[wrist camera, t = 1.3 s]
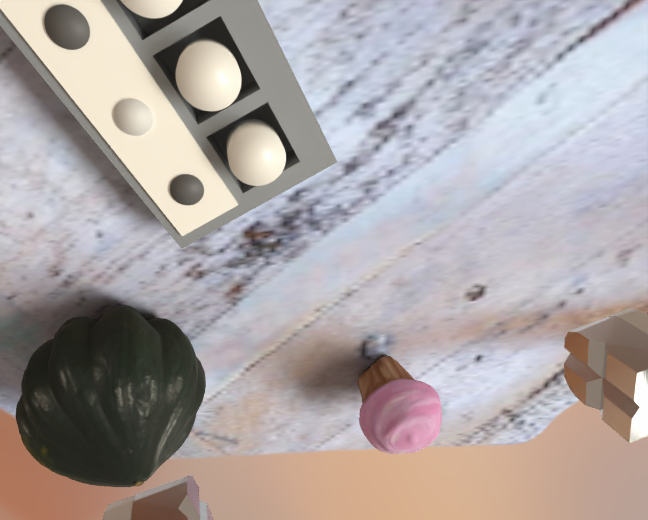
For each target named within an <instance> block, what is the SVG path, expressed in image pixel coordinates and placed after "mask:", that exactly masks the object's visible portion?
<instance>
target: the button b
mask: <svg viewBox="0 0 648 520" xmlns="http://www.w3.org/2000/svg"><path fill="white" fill-rule="evenodd" d="M176 83H177V86H178V89H179V91H180V93H181V94H182V96H183V97H184V98H185V100H186V101H187V102H189V103H190V104H191V105H193V106H194V107H196V108H198V109H201V110H204V111H218V110H222V109H224V108H226V107H228V106H229V105H230V104H232V103H233V102H234V100H235V99H236V98H237V96H238V94H239V92H240V88H241V72H240V69H239V66H238V64H237V61H236V59H235V57H234V55H233V54H232V52H231V51H230V50H229V48H228V47H226V46H225V45H224V44H223V43H221V42H219V41H217V40H214V39H210V38H201V39H197V40H194V41H192V42H190V43H189V44H187V45H186V46H185V47H184V49H183V50H182V52H181V54H180V56H179V59H178V63H177V67H176Z"/></svg>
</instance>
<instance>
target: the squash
mask: <svg viewBox="0 0 648 520" xmlns="http://www.w3.org/2000/svg"><path fill="white" fill-rule="evenodd" d="M205 387H206V381H205V372H204V369H203V367H202V365H201V363H200V361H199V360H198V358H197V357H196V355H195V352H194V349H193V347H192V344H191V342H190V341H189V339H188V337H187V336H186V335H185V334H184V333H183V332H182V330H181V329H180V328H179V327H178V326H177V325H175V324H174V323H173V322H171V321H169V320H167V319H162V318H156V319H150V320H147V321H146V320H145V318H144V317H143V316H142V315H141V314H140V313H139V312H138V311H137V310H136V309H135V308H133V307H131V306H126V305H121V306H117V307H115V308H113V309H111V310H109V311H108V312H106V313H105V314H103V315H102V316H101V317H100V318H99V320H98V321H96V320H94V319H91V318H88V317H76V318H73V319H70V320H68V321H67V322H66V323H65V324H63V325H62V326H61V327H60V329H59V330H58V331H57V333H56V334H55V337H54V339H52V340H49V341H47V342H46V343H44V344H43V345H42V346H40V347H39V348H38V349H37V350H36V351H35V352H34V354H33V355H32V357H31V359H30V361H29V363H28V366H27V368H26V370H25V372H24V376H23V380H22V395H21V398H20V400H19V402H18V404H17V408H16V421H17V424H18V428H19V433H20V435H21V437H22V441H23V443H24V445H25V447H26V449H27V450H28V451H29V452H30V454H31V455H32V456H33V457H34V458H35V459H36V460H37V461H38V462H39V463H40V464H41V465H43V466H45V467H47V468H48V469H50V470H51V471H53V472H55V473H57V474H59V475H62V476H66V477H68V478H70V479H72V480H76V481H78V482H82V483H86V484H90V485H98V486H112V487H131V486H140V485H142V484H143V483H144V481H146V480H147V479H148V478H149V477H151V476H152V475H153V473H154V472H155V471H156V470H157V469H158V467H159V466H160V465H162V464H163V463H164V462H165V461H166V460H167V459H169V458H170V457H171V456H172V455H173V454H174V453H175V452H176V451H177V450H178V449H179V448H180V447H181V446H182V444H183V443H184V441H185V440H186V438H187V437H188V435H189V433H190V431H191V429H192V427H193V424H194V421H195V418H196V413H197V411H198V409H199V407H200V405H201V403H202V400H203V397H204V393H205Z"/></svg>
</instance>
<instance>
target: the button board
mask: <svg viewBox="0 0 648 520" xmlns="http://www.w3.org/2000/svg"><path fill="white" fill-rule="evenodd" d="M0 26H1V27H2V29H3V30H4V31H5V32H6V34H7V35H8V36H9V37H10V39H11V40H12V41H13V42H14V43H15V45H16V46H17V47H18V48H19V50H20V51H21V52H22V53H23V54H24V56H25V57H26V58H27V59H28V61H29V62H30V63H31V64H32V66H33V67H34V68H35V69H36V70H37V72H38V73H39V74H40V75H41V77H42V78H43V79H44V80H45V81H46V83H47V84H48V85H49V86H50V88H51V89H52V90H53V91H54V93H55V94H56V95H57V96H58V97H59V99H60V100H61V101H62V102H63V104H64V105H65V106H66V107H67V108H68V110H69V111H70V112H71V113H72V115H73V116H74V117H75V118H76V120H77V121H78V122H79V123H80V124H81V126H82V127H83V128H84V129H85V131H86V132H87V133H88V134H89V135H90V137H91V138H92V139H93V140H94V142H95V143H96V144H97V145H98V147H99V148H100V149H101V150H102V151H103V153H104V154H105V155H106V156H107V158H108V159H109V160H110V161H111V162H112V164H113V165H114V166H115V167H116V169H117V170H118V171H119V172H120V174H121V175H122V176H123V177H124V178H125V180H126V181H127V182H128V183H129V185H130V186H131V187H132V188H133V189H134V191H135V192H136V193H137V194H138V196H139V197H140V198H141V199H142V201H143V202H144V203H145V204H146V205H147V207H148V208H149V209H150V210H151V212H152V213H153V214H154V215H155V216H156V218H157V219H158V220H159V221H160V223H161V224H162V225H163V226H164V227H165V229H166V230H167V231H168V232H169V234H170V235H171V236H172V237H173V239H174V240H175V241H176V242H177V243H178V245H179V246H180V247H181V248H184V247H185V246H187V245H189V244H191V243H193V242H194V241H196V240H198V239H200V238H202V237H203V236H205V235H207V234H209V233H211V232H212V231H214V230H216V229H218V228H220V227H221V226H223V225H225V224H227V223H229V222H230V221H232V220H234V219H236V218H238V217H239V216H241V215H243V214H245V213H247V212H248V211H250V210H252V209H254V208H256V207H257V206H259V205H261V204H263V203H265V202H266V201H268V200H270V199H272V198H274V197H275V196H277V195H279V194H281V193H283V192H284V191H286V190H288V189H290V188H291V187H293V186H295V185H297V184H299V183H300V182H302V181H304V180H306V179H308V178H309V177H311V176H313V175H315V174H317V173H318V172H320V171H322V170H324V169H326V168H327V167H329V166H331V165H333V164H335V163H336V162H337V161H336V159H335V157H334V155H333V152H332V150H331V148H330V146H329V144H328V142H327V140H326V138H325V136H324V134H323V132H322V130H321V128H320V126H319V124H318V122H317V120H316V118H315V116H314V114H313V112H312V110H311V108H310V106H309V104H308V102H307V100H306V98H305V96H304V94H303V92H302V90H301V88H300V86H299V84H298V82H297V80H296V78H295V76H294V73H293V71H292V69H291V67H290V65H289V63H288V61H287V59H286V57H285V55H284V53H283V51H282V49H281V47H280V45H279V43H278V41H277V39H276V37H275V35H274V33H273V31H272V29H271V27H270V25H269V23H268V21H267V19H266V17H265V15H264V13H263V11H262V9H261V7H260V5H259V3H258V1H257V0H183V1H182V3H181V4H180V5H179V7H178V8H177V9H176V10H175V11H174V12H173V13H171V14H170V15H168V16H165V17H162V18H147V17H143V16H140V15H138V14H136V13H134V12H133V11H131V10H130V9H128V8H127V7H126V6H125V5H124V4H123V3H122V2H121V0H0ZM201 38H210V39H214V40H217V41H219V42H221V43H223V44H224V45H225V46H226V47H228V48H229V50H230V51H231V52H232V54H233V55H234V57H235V59H236V61H237V64H238V66H239V69H240V72H241V88H240V92H239V94H238V96H237V98H236V99H235V100H234V102H233V103H232V104H230V105H229V106H228V107H226V108H224V109H222V110H218V111H204V110H201V109H198V108H196V107H194V106H193V105H191V104H190V103H189V102H187V101H186V100H185V98H184V97H183V96H182V94H181V93H180V91H179V89H178V86H177V83H176V67H177V63H178V59H179V56H180V54H181V52H182V50H183V49H184V47H185V46H186V45H187V44H189V43H190V42H192V41H194V40H197V39H201ZM247 119H259V120H262V121H265V122H267V123H268V124H270V125H271V126H272V127H273V128H274V129H275V131H276V132H277V134H278V136H279V138H280V141H281V143H282V145H283V147H284V149H285V153H286V163H285V167H284V169H283V171H282V173H281V174H280V176H279V177H278V178H277V179H275V180H274V181H273V182H271V183H269V184H266V185H262V186H252V185H248V184H245V183H243V182H242V181H240V180H239V179H237V177H236V176H235V175H234V174H233V173H232V171H231V169H230V166H229V162H228V155H227V148H226V142H227V137H228V134H229V132H230V131H231V129H232V128H233V127H234V126H235V125H236V124H238V123H239V122H241V121H243V120H247Z"/></svg>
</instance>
